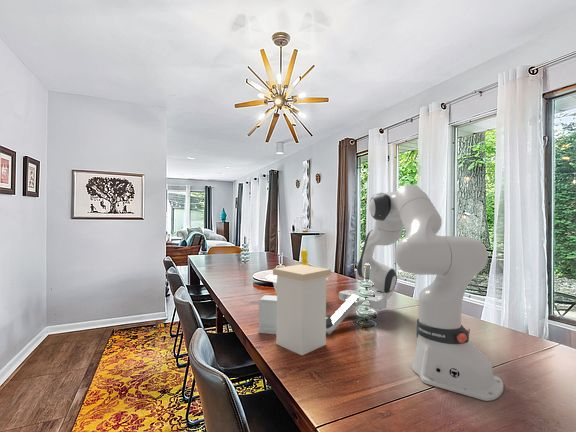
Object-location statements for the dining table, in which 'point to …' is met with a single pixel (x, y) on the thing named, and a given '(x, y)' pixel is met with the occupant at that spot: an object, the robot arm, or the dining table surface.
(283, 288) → the pedestal
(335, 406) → the dining table surface
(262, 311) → the supplement box
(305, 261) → the figure statuette
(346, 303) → the aluminium bar
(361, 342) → the dining table surface
